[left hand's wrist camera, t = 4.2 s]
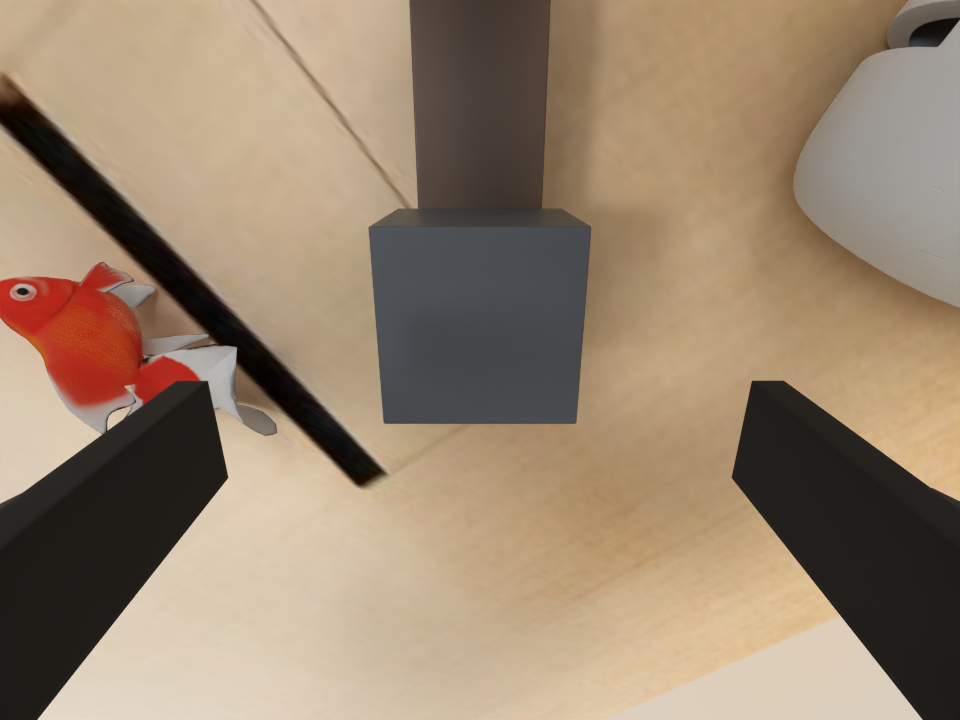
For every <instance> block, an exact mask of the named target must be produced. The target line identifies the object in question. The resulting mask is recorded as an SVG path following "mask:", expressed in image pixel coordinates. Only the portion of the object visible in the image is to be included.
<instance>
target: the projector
mask: <svg viewBox="0 0 960 720" xmlns="http://www.w3.org/2000/svg"><path fill="white" fill-rule="evenodd" d="M887 43H888V46H889V48H890V50H886V51H882V52H879V53H876V54H874V55H871V56H869V57H868V58H866V59H865V60H864V61H862V62H861V63H860V65H859V66H858V67H857V69H856V70H855V71H854V73H853V74H852V75H851V77H850V78H849V79H848V81H847V82H846V83H845V85H844V86H843V88H842V89H841V90H840V92H839V93H838V95H837V96H836V97H835V99H834V100H833V102H832V103H831V104H830V106H829V107H828V109H827V110H826V111H825V113H824V114H823V116H822V117H821V119H820V120H819V122H818V123H817V125H816V126H815V128H814V130H813V131H812V133H811V135H810V136H809V138H808V140H807V141H806V143H805V145H804V147H803V149H802V152H801V154H800V156H799V159H798V162H797V165H796V169H795V173H794V178H793V191H794V196H795V198H796V201H797V203H798V205H799V207H800V208H801V209H802V211H803V212H804V214H805V215H806V216H807V217H808V218H809V219H810V220H811V221H812V222H813V223H814V224H815V225H816V226H817V227H818V228H820V229H821V230H822V231H823V232H824V233H825V234H827V235H828V236H829V237H831V238H832V239H833V240H834V241H836V242H837V243H838V244H840V245H841V246H843V247H844V248H846V249H847V250H849V251H850V252H852V253H853V254H854V255H856V256H857V257H859V258H861V259H862V260H864V261H865V262H867V263H869V264H870V265H872V266H873V267H875V268H877V269H878V270H880V271H882V272H883V273H885V274H887V275H889V276H891V277H892V278H894V279H896V280H898V281H900V282H901V283H903V284H905V285H908V286H910V287H912V288H914V289H916V290H918V291H920V292H922V293H924V294H926V295H928V296H931V297H933V298H936V299H938V300H941V301H943V302H946V303H948V304H951V305H953V306H956V307H959V308H960V0H908V1H907V2H906V4H905V5H904V6H903V7H902V9H901V10H900V11H899V13H898V14H897V15H896V17H895V18H894V19H893V21H892V22H891V24H890V26H889V28H888V32H887Z"/></svg>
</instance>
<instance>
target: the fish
mask: <svg viewBox="0 0 960 720" xmlns="http://www.w3.org/2000/svg"><path fill="white" fill-rule="evenodd" d="M133 281H134V280H133V278H131V277H130V276H129V275H128V274H126V273H125V272H122V271H119V270H116V269H113V268H111V267H109V266H108V265H107V264H105V263H104V262H101V263H99V264H97V265H96V266H94V267H93V268H92V269H91V270H90V272H89V273H88V274H87V275H86V277H85V278H84V279H83V281H82V282H76V281H71V280H67V279H57V278H49V277H16V278H10V279H6V280H2V281H0V318H1V319H2V320H3V321H4V322H5V324H6V325H7V326H9V327H10V328H11V329H12V330H14V331H15V332H17V333H18V334H20V335H21V336H23V337H24V338H26V339H27V340H28V341H29V342H30V343H31V344H32V345H33V346H34V347H35V348H36V349H37V350H38V351H39V352H40V354H41V355H42V357H43V359H44V362H45V366H46V369H47V372H48V374H49V377H50V379H51V382H52V384H53V386H54V388H55V390H56V391H57V393H58V395H59V397H60V398H61V400H62V401H63V402H64V404H65V405H66V407H67V408H68V409H69V411H71V412H72V413H73V414H74V415H75V416H77V417H78V418H79V419H80V420H82V421H83V422H84V423H86V424H87V425H89V426H90V427H92V428H93V429H95V430H96V431H98V432H100V433H101V434H104V433H105V432H107V420H108V417H109V415H110V414H111V413H112V412H114V411H116V410H119V409H122V408H126V407H128V406H131V410H130V411H129V413H128V414H127V416H129V415H130V414H131V413H133V412H134V411H136V410H137V409H138V408H140V407H141V406H142V405H144V404H145V403H147V402H148V401H149V400H151V399H152V398H153V397H155V396H156V395H157V394H159V393H160V392H162V391H163V390H164V389H166V388H167V387H168V386H170V385H171V384H173V383H174V382H175V381H208V383H209V388H210V393H211V398H212V402H213V407H214V409H218V408H220V409H222V410H224V411H226V412H227V413H229V414H231V415H232V416H234V417H235V418H237V419H238V420H239V421H241V422H242V423H243V424H244V425H246V426H247V427H249V428H251V429H252V430H254V431H256V432H258V433H260V434H262V435H264V436H266V435H273V434H276V433H277V428H276V424H275V423H274V422H273V420H272V419H271V418H270V417H268V416H267V415H266V414H265V413H264V412H263V411H260V410H257V409H254V408H251V407H247V406H243V405H239V404H237V402H236V395H235V389H234V388H235V368H236V353H237V347H231V346H224V345H218V344H212V345H207V346H201V347H195V348H190V349H184V350H178V349H180V348H182V347H184V346H187V345H189V344H192V343H194V342H197V341H199V340H202V339H205V338H207V337H209V335H208V334H204V335H180V336H172V337H165V338H157V339H150V338H144V337H142V333H141V328H140V325H139V322H138V320H137V318H136V316H135V314H134V313H133V311H132V310H131V308H135V307H138V306H140V305H141V304H142V303H143V302H144V301H145V300H146V299H147V298H148V297H149V296H150V295H151V294H152V293H153V292H155V288H154V287H153V286H150V285H124V286H120V285H122V284H125V283H129V282H133ZM118 286H119V287H118ZM175 350H177V351H175ZM143 354H144V355H148V356H152V357H149V358H145V359H144V357H143ZM126 385H131V387H132V390H133V392H132V394H131V393H130V392H129V391H128V390H127V389H126V388H125V387H124V386H126ZM127 416H126V417H127ZM126 417H125V418H126ZM125 418H124V419H125Z"/></svg>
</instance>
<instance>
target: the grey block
mask: <svg viewBox="0 0 960 720" xmlns="http://www.w3.org/2000/svg"><path fill="white" fill-rule="evenodd" d="M369 237H370V250H371V263H372V276H373V289H374V302H375V315H376V328H377V341H378V354H379V367H380V380H381V393H382V406H383V419H384V423H385V424H575V423H576V420H577V407H578V393H579V380H580V367H581V354H582V341H583V328H584V315H585V302H586V289H587V276H588V263H589V250H590V237H591V227H590V226H589V225H587V224H585V223H584V222H582V221H580V220H579V219H577V218H576V217H574V216H572V215H571V214H569V213H568V212H566V211H564V210H563V209H397V210H396V211H394V212H392V213H391V214H389V215H388V216H386V217H384V218H383V219H381V220H380V221H378V222H376V223H375V224H373V225H371V226H370V227H369Z"/></svg>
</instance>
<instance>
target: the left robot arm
mask: <svg viewBox="0 0 960 720" xmlns="http://www.w3.org/2000/svg"><path fill="white" fill-rule="evenodd" d="M227 479H228V474H227V469H226V465H225V460H224V455H223V450H222V445H221V441H220V436H219V431H218V426H217V422H216V417H215V412H214V407H213V402H212V398H211V393H210V388H209V383H208V381H175V382H174V383H173V384H171V385H170V386H168V387H167V388H166V389H164V390H163V391H162V392H160V393H159V394H157V395H156V396H155V397H153V398H152V399H151V400H149V401H148V402H147V403H145V404H144V405H142V406H141V407H140V408H138V409H137V410H136V411H134V412H133V413H131V414H130V415H129V416H127V417H126V418H125V419H123V420H122V421H120V422H119V423H118V424H116V425H115V426H114V427H112V428H111V429H110V430H108V431H107V432H105V433H104V434H103V435H101V436H100V437H99V438H97V439H96V440H94V441H93V442H92V443H90V444H89V445H88V446H86V447H85V448H83V449H82V450H81V451H79V452H78V453H77V454H75V455H74V456H73V457H71V458H70V459H68V460H67V461H66V462H64V463H63V464H62V465H60V466H59V467H57V468H56V469H55V470H53V471H52V472H51V473H49V474H48V475H46V476H45V477H44V478H42V479H41V480H40V481H38V482H37V483H36V484H34V485H33V486H31V487H30V488H29V489H27V490H26V491H25V492H23V493H21V494H19V495H17V496H15V497H13V498H11V499H9V500H7V501H5V502H3V503H1V504H0V720H37V719H38V718H39V717H40V716H41V714H42V713H43V712H44V710H45V709H46V708H47V707H48V705H49V704H50V703H51V702H52V700H53V699H54V698H55V697H56V695H57V694H58V693H59V691H60V690H61V689H62V688H63V686H64V685H65V684H66V683H67V681H68V680H69V679H70V678H71V676H72V675H73V674H74V672H75V671H76V670H77V669H78V667H79V666H80V665H81V664H82V662H83V661H84V660H85V659H86V657H87V656H88V655H89V653H90V652H91V651H92V650H93V648H94V647H95V646H96V645H97V643H98V642H99V641H100V640H101V638H102V637H103V636H104V634H105V633H106V632H107V631H108V629H109V628H110V627H111V626H112V624H113V623H114V622H115V621H116V619H117V618H118V617H119V615H120V614H121V613H122V612H123V610H124V609H125V608H126V607H127V605H128V604H129V603H130V602H131V600H132V599H133V598H134V597H135V595H136V594H137V593H138V591H139V590H140V589H141V588H142V586H143V585H144V584H145V583H146V581H147V580H148V579H149V578H150V576H151V575H152V574H153V572H154V571H155V570H156V569H157V567H158V566H159V565H160V564H161V562H162V561H163V560H164V559H165V557H166V556H167V555H168V553H169V552H170V551H171V550H172V548H173V547H174V546H175V545H176V543H177V542H178V541H179V540H180V538H181V537H182V536H183V534H184V533H185V532H186V531H187V529H188V528H189V527H190V526H191V524H192V523H193V522H194V521H195V519H196V518H197V517H198V515H199V514H200V513H201V512H202V510H203V509H204V508H205V507H206V505H207V504H208V503H209V502H210V500H211V499H212V498H213V496H214V495H215V494H216V493H217V491H218V490H219V489H220V488H221V486H222V485H223V484H224V483H225V481H226V480H227ZM732 479H733V480H734V481H735V483H736V484H737V485H738V486H739V488H740V489H741V490H742V491H743V493H744V494H745V495H746V496H747V498H748V499H749V500H750V502H751V503H752V504H753V505H754V507H755V508H756V509H757V510H758V512H759V513H760V514H761V515H762V517H763V518H764V519H765V521H766V522H767V523H768V524H769V526H770V527H771V528H772V529H773V531H774V532H775V533H776V534H777V536H778V537H779V538H780V540H781V541H782V542H783V543H784V545H785V546H786V547H787V548H788V550H789V551H790V552H791V553H792V555H793V556H794V557H795V559H796V560H797V561H798V562H799V564H800V565H801V566H802V567H803V569H804V570H805V571H806V572H807V574H808V575H809V576H810V578H811V579H812V580H813V581H814V583H815V584H816V585H817V586H818V588H819V589H820V590H821V591H822V593H823V594H824V595H825V597H826V598H827V599H828V600H829V602H830V603H831V604H832V605H833V607H834V608H835V609H836V610H837V612H838V613H839V614H840V615H841V617H842V618H843V619H844V621H845V622H846V623H847V624H848V626H849V627H850V628H851V629H852V631H853V632H854V633H855V634H856V636H857V637H858V638H859V640H860V641H861V642H862V643H863V645H864V646H865V647H866V648H867V650H868V651H869V652H870V653H871V655H872V656H873V657H874V659H875V660H876V661H877V662H878V664H879V665H880V666H881V667H882V669H883V670H884V671H885V672H886V674H887V675H888V676H889V678H890V679H891V680H892V681H893V683H894V684H895V685H896V686H897V688H898V689H899V690H900V691H901V693H902V694H903V695H904V696H905V698H906V699H907V700H908V702H909V703H910V704H911V705H912V707H913V708H914V709H915V710H916V712H917V713H918V714H919V716H920V717H921V718H922V719H923V720H960V501H958V500H956V499H954V498H952V497H950V496H947V495H945V494H943V493H941V492H939V491H937V490H935V489H933V488H930V487H929V486H927V485H926V484H924V483H923V482H922V481H920V480H919V479H918V478H916V477H915V476H914V475H912V474H911V473H909V472H908V471H907V470H905V469H904V468H903V467H901V466H900V465H898V464H897V463H896V462H894V461H893V460H892V459H890V458H889V457H887V456H886V455H885V454H883V453H882V452H881V451H879V450H878V449H877V448H875V447H874V446H872V445H871V444H870V443H868V442H867V441H866V440H864V439H863V438H861V437H860V436H859V435H857V434H856V433H855V432H853V431H852V430H850V429H849V428H848V427H846V426H845V425H844V424H842V423H841V422H840V421H838V420H837V419H835V418H834V417H833V416H831V415H830V414H829V413H827V412H826V411H824V410H823V409H822V408H820V407H819V406H818V405H816V404H815V403H813V402H812V401H811V400H809V399H808V398H807V397H805V396H804V395H803V394H801V393H800V392H798V391H797V390H796V389H794V388H793V387H792V386H790V385H789V384H787V383H786V382H785V381H752V383H751V388H750V393H749V398H748V402H747V407H746V412H745V417H744V422H743V426H742V431H741V436H740V441H739V445H738V450H737V455H736V460H735V465H734V469H733V474H732Z"/></svg>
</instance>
